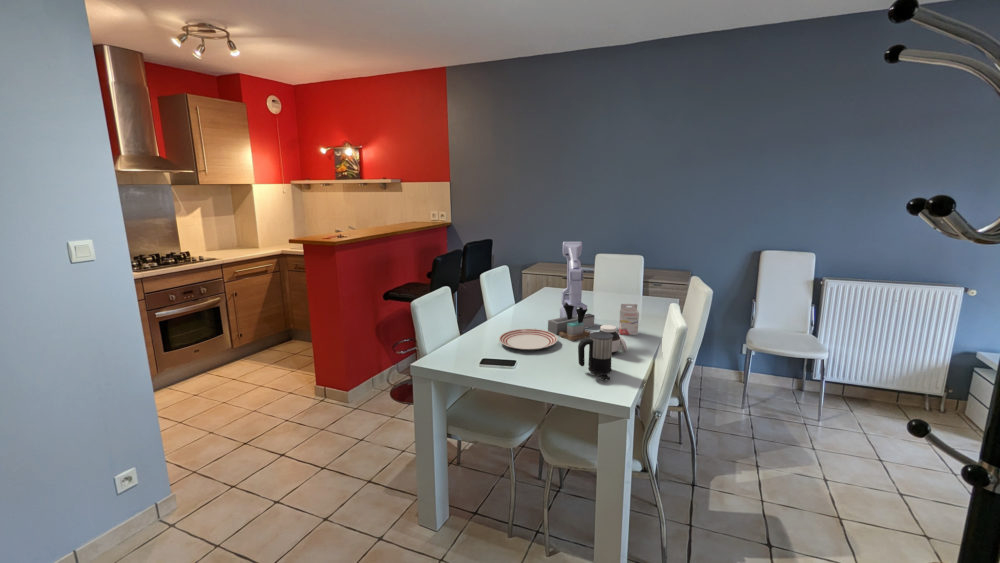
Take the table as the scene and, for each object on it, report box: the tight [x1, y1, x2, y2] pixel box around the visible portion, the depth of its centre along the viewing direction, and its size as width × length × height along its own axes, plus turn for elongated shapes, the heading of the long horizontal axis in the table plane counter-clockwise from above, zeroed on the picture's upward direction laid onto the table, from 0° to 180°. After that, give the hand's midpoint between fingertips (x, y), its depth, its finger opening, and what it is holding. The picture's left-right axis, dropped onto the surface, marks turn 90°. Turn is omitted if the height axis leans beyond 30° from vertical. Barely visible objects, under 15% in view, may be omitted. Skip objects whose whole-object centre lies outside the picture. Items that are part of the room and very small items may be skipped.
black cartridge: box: [583, 313, 595, 329], centre depth 247 cm, size 4×7×6 cm, turn 123°
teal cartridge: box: [567, 321, 584, 336], centre depth 231 cm, size 4×7×6 cm, turn 123°
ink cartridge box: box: [618, 303, 640, 336], centre depth 234 cm, size 9×5×15 cm, turn 84°
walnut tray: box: [558, 329, 591, 342], centre depth 231 cm, size 9×12×2 cm
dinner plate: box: [498, 328, 558, 351], centre depth 222 cm, size 28×27×3 cm
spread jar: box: [598, 324, 628, 356], centre depth 209 cm, size 12×11×12 cm
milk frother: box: [577, 331, 613, 382], centre depth 184 cm, size 14×16×15 cm
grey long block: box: [547, 315, 583, 336], centre depth 241 cm, size 7×17×6 cm, turn 123°
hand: (574, 320), depth 230 cm, fingers open, 7 cm apart
